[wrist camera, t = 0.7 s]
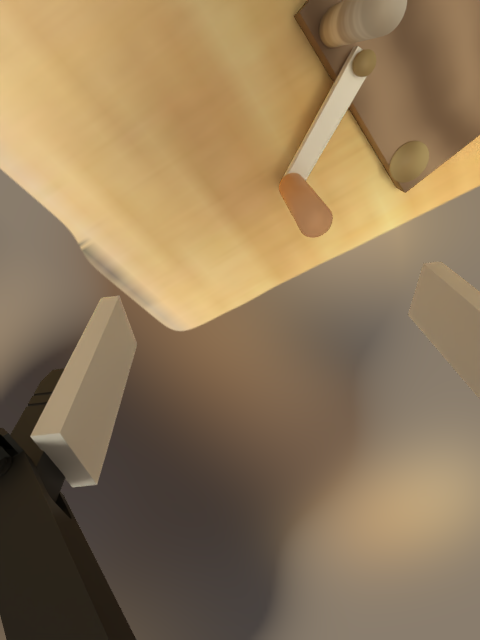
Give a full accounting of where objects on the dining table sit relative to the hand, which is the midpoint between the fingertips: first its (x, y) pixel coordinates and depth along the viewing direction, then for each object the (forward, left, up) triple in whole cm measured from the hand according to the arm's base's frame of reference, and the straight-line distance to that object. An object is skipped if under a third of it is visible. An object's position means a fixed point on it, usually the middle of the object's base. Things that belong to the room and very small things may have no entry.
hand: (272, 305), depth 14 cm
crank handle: (-8, +2, -20) cm, 22 cm away
